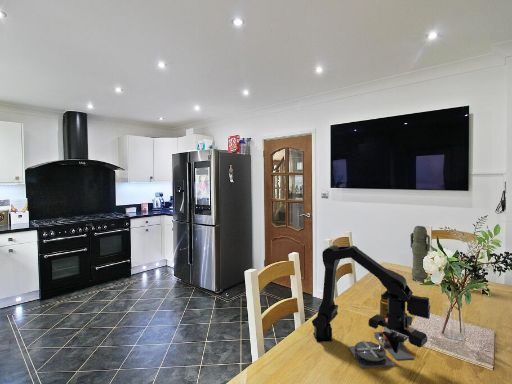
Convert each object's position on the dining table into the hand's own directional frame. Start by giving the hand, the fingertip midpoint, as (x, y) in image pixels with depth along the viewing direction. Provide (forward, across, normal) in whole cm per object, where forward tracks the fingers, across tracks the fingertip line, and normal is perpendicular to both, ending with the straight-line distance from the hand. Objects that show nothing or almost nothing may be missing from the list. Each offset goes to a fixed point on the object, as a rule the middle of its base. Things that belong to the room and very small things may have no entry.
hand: (396, 352), depth 102 cm
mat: (+4, +2, -6) cm, 8 cm away
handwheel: (+2, +8, +4) cm, 9 cm away
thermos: (+4, +28, -94) cm, 98 cm away
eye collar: (+4, +8, -11) cm, 14 cm away
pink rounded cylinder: (+4, +8, -11) cm, 14 cm away
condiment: (+4, +18, -28) cm, 33 cm away
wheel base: (+4, +8, +4) cm, 10 cm away
